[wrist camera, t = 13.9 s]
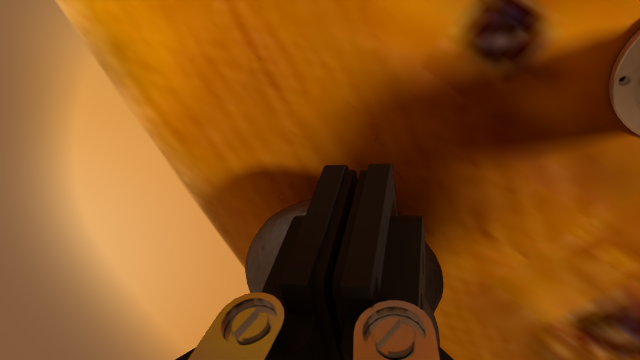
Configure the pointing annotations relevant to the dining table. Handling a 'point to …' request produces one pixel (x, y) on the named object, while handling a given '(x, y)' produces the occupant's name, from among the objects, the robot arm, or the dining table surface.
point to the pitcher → (273, 236)
